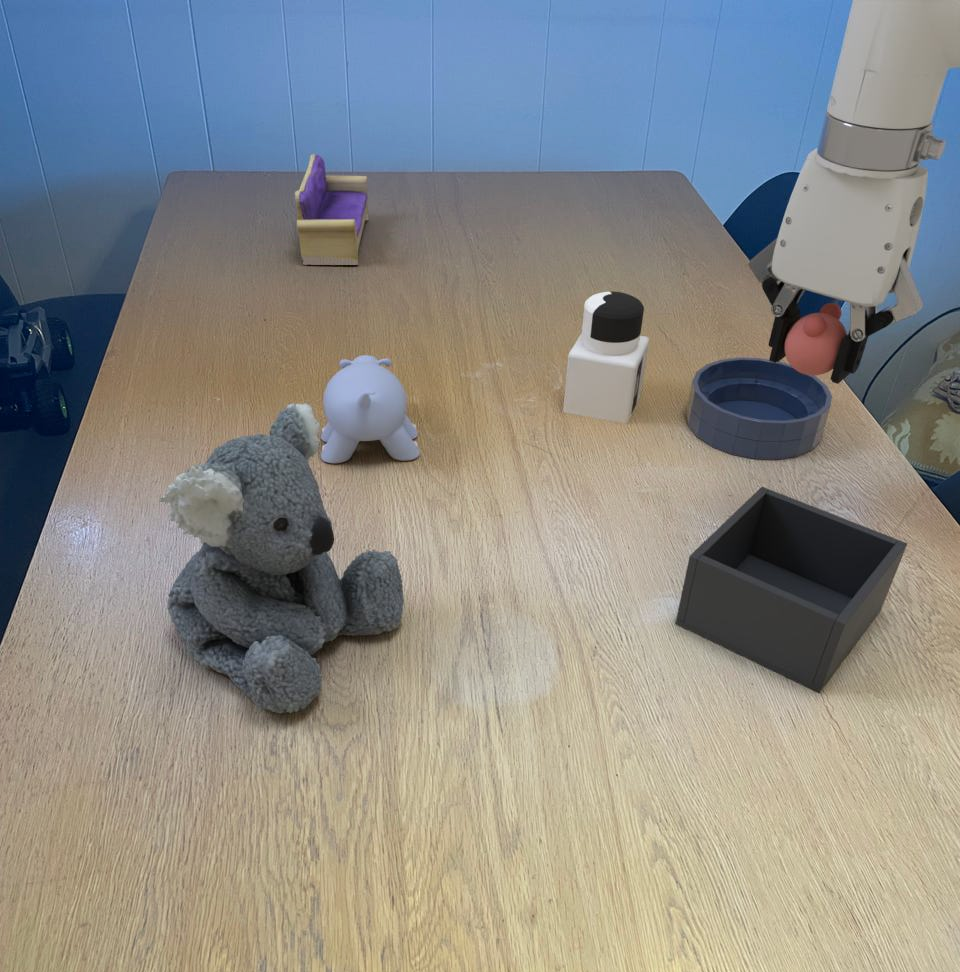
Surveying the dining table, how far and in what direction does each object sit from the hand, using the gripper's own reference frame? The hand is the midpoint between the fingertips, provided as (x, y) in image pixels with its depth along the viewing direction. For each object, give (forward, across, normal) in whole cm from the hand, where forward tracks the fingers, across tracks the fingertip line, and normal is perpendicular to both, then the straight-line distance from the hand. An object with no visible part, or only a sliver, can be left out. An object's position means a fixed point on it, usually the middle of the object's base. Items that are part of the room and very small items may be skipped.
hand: (810, 365), depth 85 cm
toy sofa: (+18, +86, -26) cm, 92 cm away
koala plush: (+18, +25, +42) cm, 52 cm away
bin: (+18, -7, +12) cm, 22 cm away
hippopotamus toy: (+18, +42, +14) cm, 47 cm away
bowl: (+18, +10, -17) cm, 26 cm away
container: (+18, +26, -10) cm, 33 cm away
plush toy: (+1, 0, 0) cm, 1 cm away
